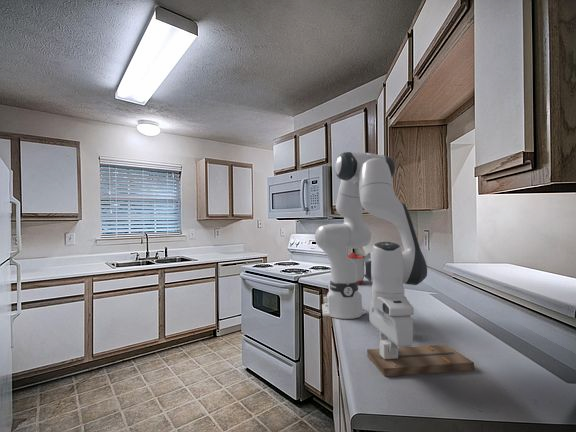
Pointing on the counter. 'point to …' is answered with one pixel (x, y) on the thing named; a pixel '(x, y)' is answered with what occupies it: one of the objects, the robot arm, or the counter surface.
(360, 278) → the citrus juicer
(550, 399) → the counter surface
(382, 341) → the fader tab
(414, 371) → the fader board
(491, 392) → the counter surface
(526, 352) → the counter surface
